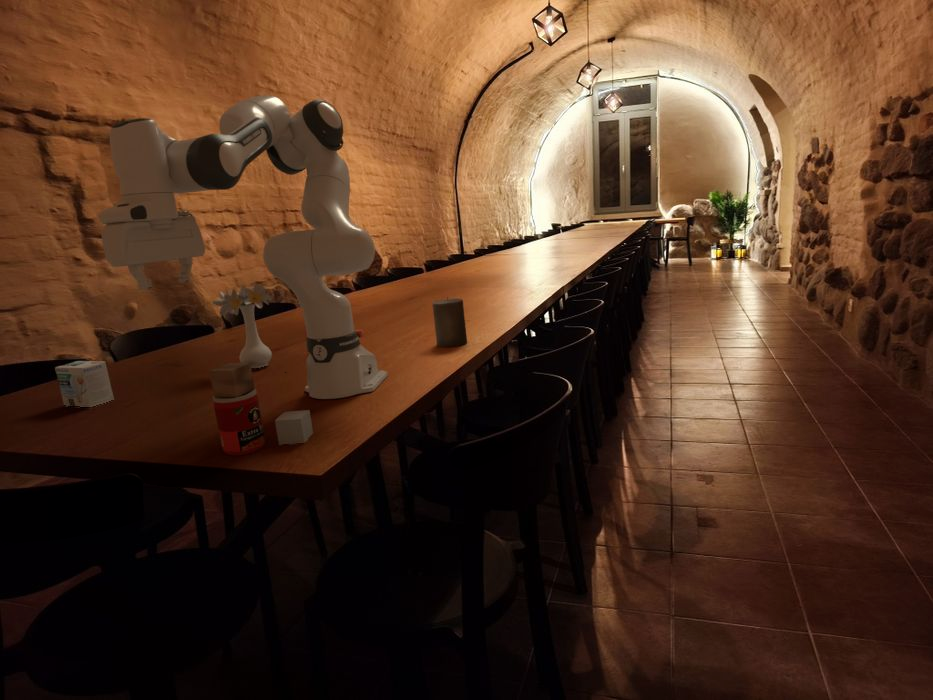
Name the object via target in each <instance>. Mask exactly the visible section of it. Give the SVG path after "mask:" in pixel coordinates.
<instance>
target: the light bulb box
mask: <svg viewBox="0 0 933 700" xmlns="http://www.w3.org/2000/svg"><path fill="white" fill-rule="evenodd" d="M54 370H55V373H56V374H55V375H56V378H57V381H58V385H59V388H60V389H59V390H60V393H61V398H62V403H63V405H66V406H65V407H68V406H80V407H93V406H96V405H99V404H102V405H104V404H103V403H105V404H107V403H106V402H108V403H110V402H109V401H111V400H114V401H115V398H114V393H113V389H112V386H111V385H112V384H111V382H110V381H111V379H110V377H109V372H108V368H107V364H106V361H103V360H101V361H100V360H99V361H97V360H96V361H94V360H89V361H88V360H76V361H73V362H69V363H66V364H62V365H59V366H55V367H54ZM111 402H112V401H111ZM99 406H100V405H99ZM80 407H79V408H80ZM96 407H97V406H96Z"/></svg>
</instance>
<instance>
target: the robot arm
mask: <svg viewBox="0 0 933 700" xmlns="http://www.w3.org/2000/svg"><path fill="white" fill-rule="evenodd" d="M110 127H111V128H110V131H109V145H110V146H109V147H110V154H111V159H112V160H111V161H112V164H113V170H114V173H115V175H116V176H117V178H118V180H119V185H120V187H119V188H120V189H119V196H120V200H121V201H120V203H117V204H116V205H113V206H111V207H108V208H106V209H103V210H101V211H99V212H98V220H99V222H100V224H102V225H104V226H103V227H102V228H101V240H102V248H103V252H104V256H105V259H106V261H107V263H108V264H109V265H110V266H111V267H113V268H118V267H119V268H120V267H127V266H128V267H127V268H128V272H129V273H130V274H131V276H132V277H133V278H134V279H135V281H136V282H137V286H138V290H140V291H146V290H150V289H153V283H152V278H147V276H146V275H145V273H144V272H143V271H144V270H145V267H144V264H145V265H146V264H153V263H159V262H160V263H161V262H167V261H174V260H175V261H176V260H178V261H177V262H178V265H180V272H179V273H177V275H176V276H177V278H178V282H179V283H180V284H181V283H182V284H183V283H185V284H186V283H191V281H192V278H191V270H192V268H193V258H198V257H204V255H205V253H206V246H205V243H204V239H203V235H202V233H201V230H200V227H199V225H198V223H197V220H196V217H195V216H194V215H193V214H192V213H190V211H189V210H186V209H185V210H178V206H177V202H176V197H175V195H181V194H187V193H188V194H189V193H197V192H206V191H211V190H212V191H223V190H224V191H225V190H229V189H232V188H234V187H235V186H236V185H237V184H238V182H239V181H240V180H241V177H242V175H243V173H244V172H245V169H246V168H247V166H248V165H250V164H251V163H252V162H253V161H254V160H255V159H257V158H258V157H259V156H260V155H261V154H262V153H264V152H265V151H266V155H267V156H268V158H269V161H270V163H272V165H273V166H274V167H275V168H276V169H277V170H279V171H280V172H282V173H283V174H286V175H290V176H292V175H296V174H299V173H301V172H303V171H304V170H306V175H307V176H306V178H305V183H304V186H303V187H304V189H303V195H302V202H301V207H300V208H301V210H300V211H301V214H302V217H303V219H304V220H305V222H306V223H307V224H308V225H309V226H310V227H312V228H313V229H303V230H293V231H292V230H291V231H287V232H283V233H280V234H276V235H272V236H271V237H268V239H267V240H266V242H265V244H264V246H263V250H262V252H263V253H262V256H263V257H262V258H263V262H264V265H265V267H266V269H267V270H268V271H269V273H270V274H272V276H274V277H275V278H277V279H278V280H280V281H282V282H283V283H284V284H286V285H287V286H288V288H289V289H290V290H291V291H292V292H293V294H294V296H296V298H297V300H298V302H299V305H300V308H301V310H302V315H303V319H304V324H305V330H306V335H307V336H306V338H305V341H306V344H305V345H306V349H307V353H309V355H308V356H307V358H306V374H307V376H306V379H307V385H306V386H305V387H304V391H305V392H307V393H308V394H309V397H311V398H312V399H313V398H314V399H318V400H334V399H342V398H348V397H352V396H355V395H358V394H359V395H360V394H364V393H365V394H366V393H370V392H374V391H376V389H377V388H378V386H379V385H380V384H381V383H383V381H384V380H385V379H386V378H387V377H388V375H389V374H388V371H386V370H383V369H378V361H377V359H376V358H377V357H376V356H375V354H373V353H372V352H370V351H369V350H367V348H365V347H364V346H362V345H361V342H360V338H361V339H362V338H364V330H363V329H355V327H354V326H355V325H354V319H353V311H352V305H351V301H350V300H349V299H348V297H346V296H345V295H344V294H343V293H340V292H338V291H336V290H333V289H331V288H329V287H328V286H327V285H326V283H325V281H324V279H323V277H333V276H346V275H347V276H348V275H352V274H355V273H359V272H362V271H366V270H368V269H370V267H371V266H372V264H373V262H374V260H375V255H376V248H375V247H376V246H375V243H374V240H373V238H372V236H371V235H370V234H369V232H367V230H365V229H364V228H362V227H361V226H358V225H357V224H355V223H354V222H353V221H352V220H351V217H350V211H349V210H350V209H349V208H350V195H351V181H350V179H351V178H350V172H349V165H347V163H346V161H345V159H344V158H342V157H341V156H340V155H339V154H338V151H340V150H341V149H342V148H343V146H344V140H343V136H344V124H343V119H342V116H341V115H340V113H339V112H338V110H337V109H336V108H335V107H334V105H332V104H331V103H330V102H328V101H326V100H323V99H314V100H312V101H310V102H308V103H306V104H305V105H304V106H303V107H302V108H301V109H300V110H299V111H298V112H296V113H295V114H293V116H292V114H290V110H289V109H288V107H287V105H286V104H285V102H283V100H282V99H280V98H279V97H276V96H274V95H271V94H264V95H262V94H261V95H257V96H253V97H249V98H246V99H244V100H241V101H240V102H237V103H235V104H233V105H232V106H230V107H229V108H228V109H227V110H226V111H224V113H223V114H222V115H221V116H220V118H219V132H220V133H210V134H207V135H203V136H199V137H192V138H188V139H182V140H178V139H176V138H173V137H171V136H169V134H167V133H165V132H164V130H162V129H161V128H160V127H159V126H158V123H157V122H156V120H155V119H152V118H149V117H141V118H133V119H126V120H121V121H117V122H115V123H114V124H113V125H112V126H110Z"/></svg>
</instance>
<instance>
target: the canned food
mask: <svg viewBox="0 0 933 700" xmlns="http://www.w3.org/2000/svg"><path fill="white" fill-rule="evenodd" d="M212 402H213V410H214V413H215V418H216V423H217V429H218V434H219V437H220V443H221V447H222V451H223V452H224V454H226V455H228V456H237V457H239V456H245V455H250V454H252V453H255V452H257V451H259V449H260V450H261V449H263V448H264V446H265V444H266V435H265V430H264V425H263V420H262V415H261V413H262V412H261V406H260V402H259V397H258V392H257V389H256V388H255V389H253V390H251V391H249V392H247V393H245V394H243V395H240V396H238V397H214V395H213V396H212Z"/></svg>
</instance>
